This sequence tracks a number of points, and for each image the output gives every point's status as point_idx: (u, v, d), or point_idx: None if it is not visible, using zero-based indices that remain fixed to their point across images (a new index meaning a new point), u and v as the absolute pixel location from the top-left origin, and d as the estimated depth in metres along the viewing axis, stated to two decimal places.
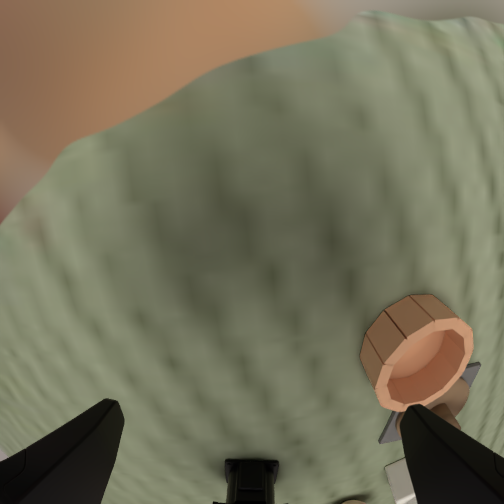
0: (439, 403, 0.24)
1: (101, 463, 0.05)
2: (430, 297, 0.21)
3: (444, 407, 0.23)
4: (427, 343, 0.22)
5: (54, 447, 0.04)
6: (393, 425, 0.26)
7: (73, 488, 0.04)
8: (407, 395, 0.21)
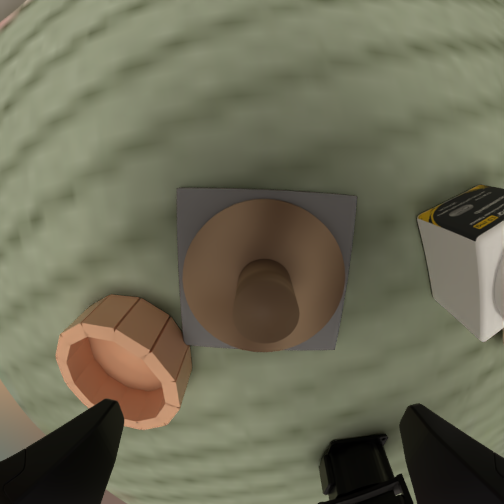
0: (235, 287, 0.18)
1: (101, 463, 0.05)
2: None
3: None
4: None
5: (54, 447, 0.04)
6: None
7: (73, 488, 0.04)
8: None
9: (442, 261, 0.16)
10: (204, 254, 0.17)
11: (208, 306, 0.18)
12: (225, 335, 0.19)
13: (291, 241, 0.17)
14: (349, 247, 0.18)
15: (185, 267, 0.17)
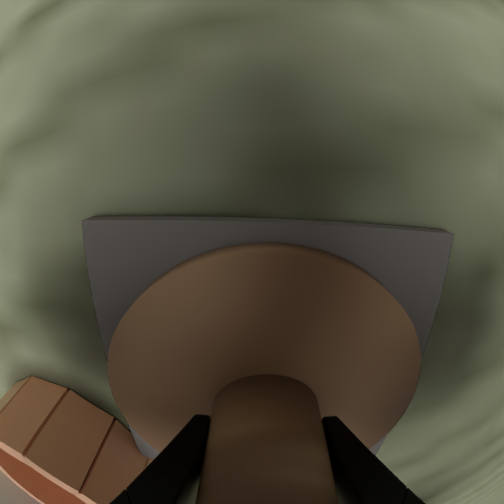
0: (209, 415, 0.08)
1: None
2: None
3: (210, 423, 0.07)
4: None
5: (159, 480, 0.04)
6: None
7: None
8: None
9: None
10: (141, 361, 0.07)
11: (165, 433, 0.08)
12: None
13: (326, 341, 0.07)
14: (427, 329, 0.08)
15: (112, 376, 0.08)
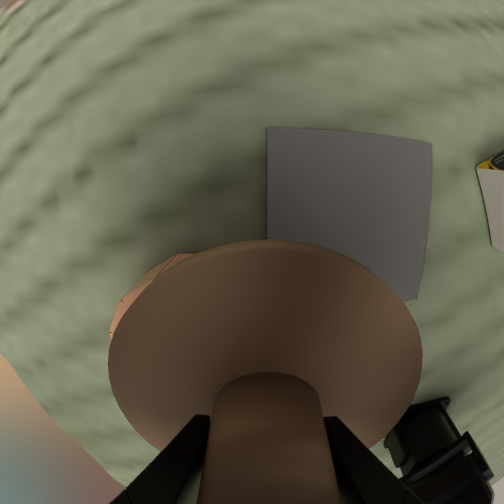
0: (210, 413, 0.08)
1: None
2: None
3: (211, 422, 0.07)
4: None
5: (158, 480, 0.04)
6: None
7: None
8: None
9: None
10: (141, 358, 0.07)
11: (165, 432, 0.08)
12: None
13: (328, 338, 0.07)
14: (428, 191, 0.16)
15: (112, 374, 0.08)
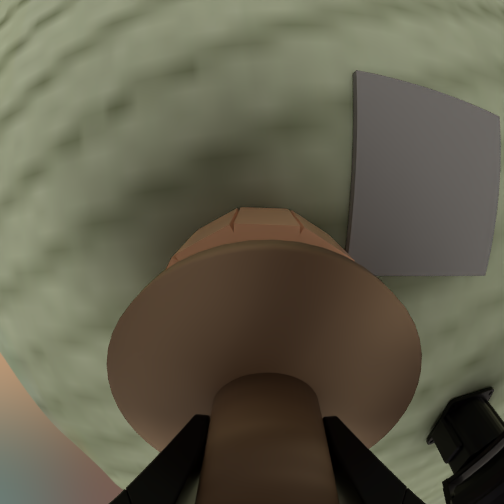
0: (209, 414, 0.08)
1: None
2: None
3: (210, 422, 0.07)
4: None
5: (159, 480, 0.04)
6: (452, 266, 0.15)
7: None
8: None
9: None
10: (140, 359, 0.07)
11: (164, 432, 0.08)
12: None
13: (327, 339, 0.07)
14: (498, 162, 0.13)
15: (111, 375, 0.08)
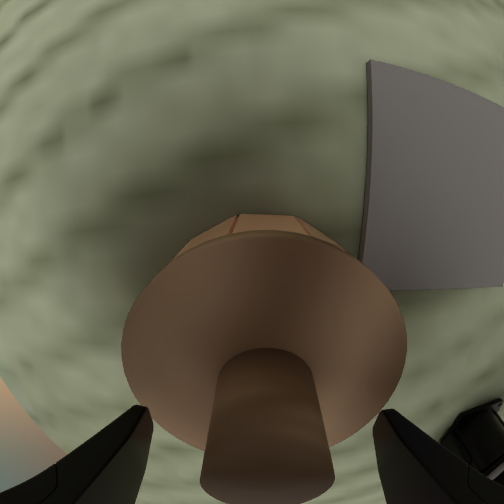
0: (214, 389, 0.09)
1: (133, 472, 0.05)
2: None
3: (215, 394, 0.08)
4: None
5: (86, 460, 0.04)
6: (470, 277, 0.13)
7: (108, 501, 0.04)
8: None
9: None
10: (153, 337, 0.09)
11: (172, 410, 0.09)
12: (204, 443, 0.10)
13: (319, 317, 0.08)
14: None
15: (125, 354, 0.09)
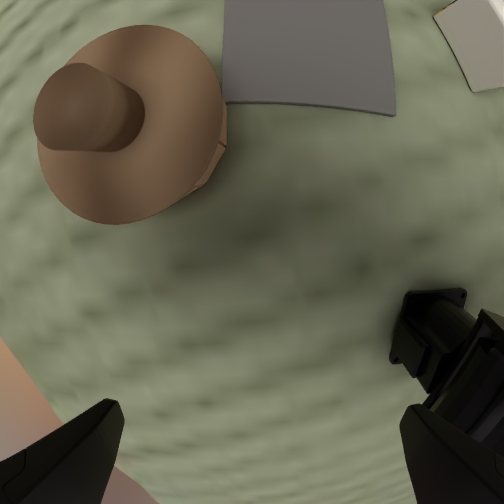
0: None
1: (101, 463, 0.05)
2: None
3: None
4: None
5: (54, 447, 0.04)
6: (344, 97, 0.15)
7: (73, 488, 0.04)
8: None
9: (466, 34, 0.11)
10: None
11: (57, 162, 0.12)
12: (75, 201, 0.12)
13: (144, 60, 0.10)
14: (384, 17, 0.13)
15: None
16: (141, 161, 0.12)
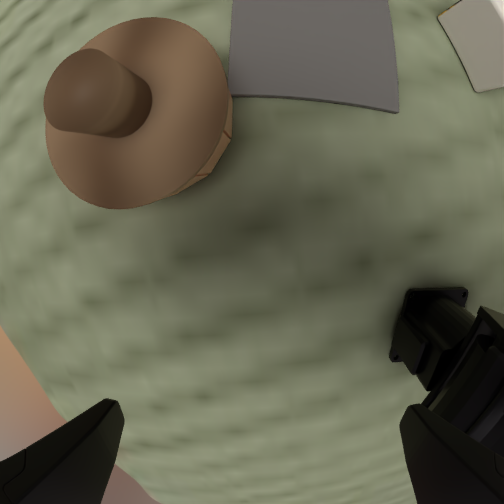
0: None
1: (101, 463, 0.05)
2: None
3: None
4: None
5: (54, 447, 0.04)
6: (347, 93, 0.15)
7: (73, 488, 0.04)
8: None
9: (469, 34, 0.11)
10: None
11: (65, 147, 0.12)
12: (80, 186, 0.12)
13: (153, 51, 0.10)
14: (388, 17, 0.13)
15: None
16: (147, 147, 0.12)
